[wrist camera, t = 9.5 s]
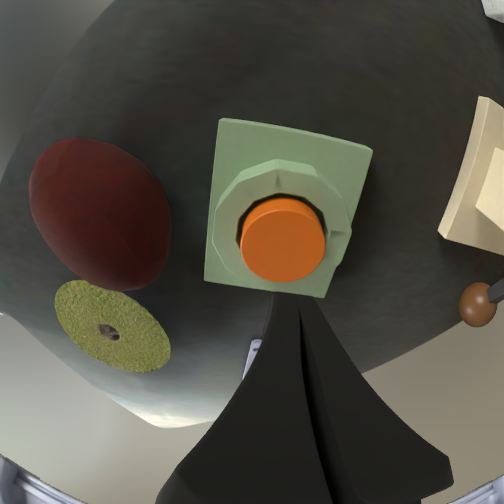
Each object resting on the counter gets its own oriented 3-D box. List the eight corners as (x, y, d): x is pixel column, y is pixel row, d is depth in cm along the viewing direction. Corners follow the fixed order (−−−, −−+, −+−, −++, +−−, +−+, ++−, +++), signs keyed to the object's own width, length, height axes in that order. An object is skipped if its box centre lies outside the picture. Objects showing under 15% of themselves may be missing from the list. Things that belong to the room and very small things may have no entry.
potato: (143, 271, 20) (110, 334, 14) (49, 175, 16) (-9, 214, 11) (215, 212, 17) (191, 274, 12) (103, 95, 13) (33, 109, 8)
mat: (45, 274, 21) (34, 288, 19) (140, 255, 19) (129, 271, 17) (103, 356, 27) (96, 370, 25) (194, 356, 25) (190, 373, 23)
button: (310, 270, 16) (313, 288, 14) (238, 259, 16) (235, 277, 14) (329, 204, 14) (336, 218, 12) (248, 190, 13) (246, 202, 12)
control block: (321, 287, 20) (328, 317, 17) (207, 270, 19) (198, 299, 17) (366, 146, 14) (386, 159, 12) (222, 117, 14) (212, 124, 11)
